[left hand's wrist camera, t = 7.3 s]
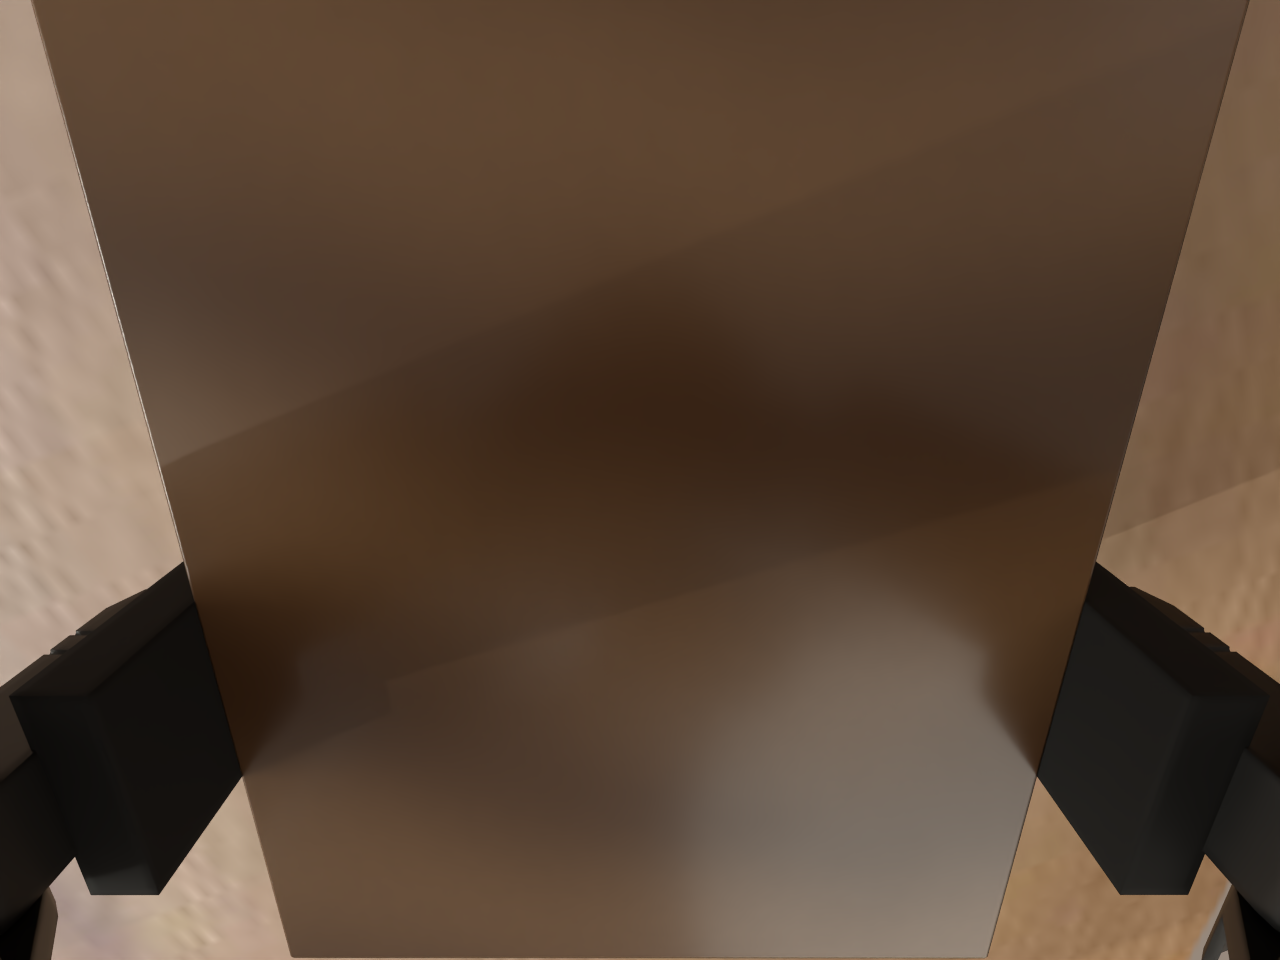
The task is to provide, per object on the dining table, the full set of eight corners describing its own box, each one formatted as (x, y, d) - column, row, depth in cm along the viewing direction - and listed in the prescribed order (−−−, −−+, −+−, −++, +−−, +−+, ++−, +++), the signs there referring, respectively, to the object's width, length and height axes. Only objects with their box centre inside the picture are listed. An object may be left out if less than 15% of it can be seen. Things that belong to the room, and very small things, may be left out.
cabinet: (314, -309, 11) (-345, -1365, 4) (966, -309, 11) (1628, -1363, 4) (436, 647, 18) (289, 960, 10) (842, 647, 18) (988, 959, 10)
